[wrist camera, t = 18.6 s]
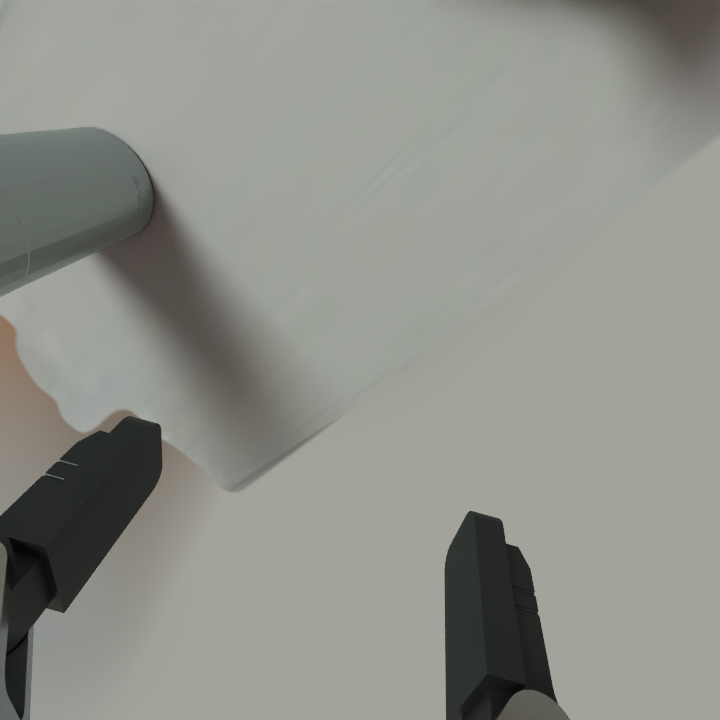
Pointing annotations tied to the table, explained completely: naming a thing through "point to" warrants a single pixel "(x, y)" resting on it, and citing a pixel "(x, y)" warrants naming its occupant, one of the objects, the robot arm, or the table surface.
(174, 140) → the table surface
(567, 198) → the table surface
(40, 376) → the table surface
